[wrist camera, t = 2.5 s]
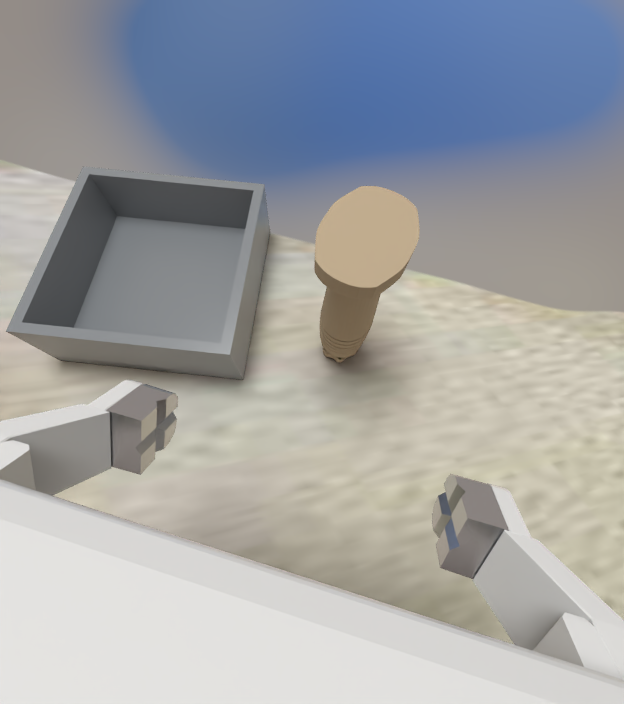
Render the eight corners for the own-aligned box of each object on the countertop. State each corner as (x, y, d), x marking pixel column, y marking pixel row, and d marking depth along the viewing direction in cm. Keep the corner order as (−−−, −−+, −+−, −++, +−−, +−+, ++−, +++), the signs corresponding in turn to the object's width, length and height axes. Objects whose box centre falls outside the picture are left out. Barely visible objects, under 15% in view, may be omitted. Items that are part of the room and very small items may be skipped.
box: (270, 231, 36) (264, 184, 30) (243, 379, 30) (229, 354, 25) (116, 216, 36) (83, 166, 31) (60, 360, 30) (5, 331, 25)
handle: (298, 364, 31) (295, 261, 17) (330, 307, 33) (351, 174, 19) (347, 389, 30) (387, 302, 16) (377, 329, 32) (434, 208, 18)
